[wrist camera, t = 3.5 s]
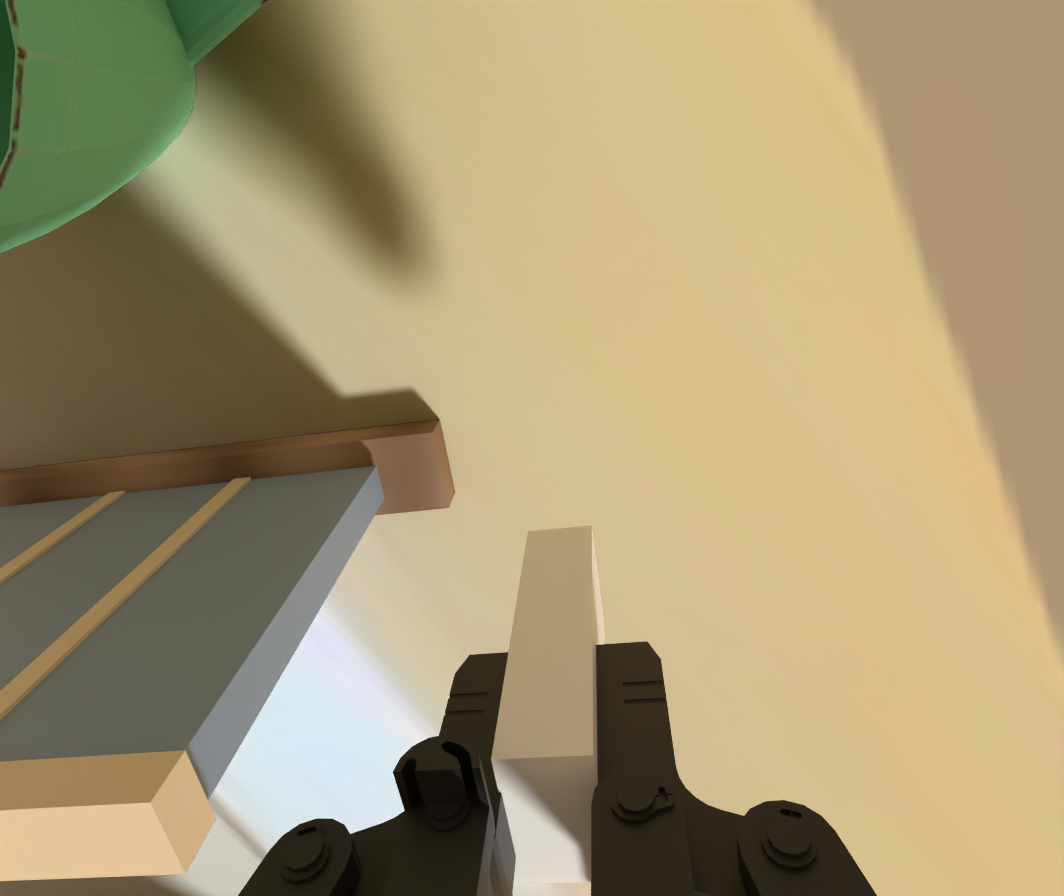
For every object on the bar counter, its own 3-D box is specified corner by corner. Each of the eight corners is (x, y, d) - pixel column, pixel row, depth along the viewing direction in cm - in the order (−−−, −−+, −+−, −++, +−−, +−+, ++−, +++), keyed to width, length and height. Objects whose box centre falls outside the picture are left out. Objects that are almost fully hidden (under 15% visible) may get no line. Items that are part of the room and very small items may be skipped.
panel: (8, 542, 25) (-535, 901, 13) (-12, 502, 24) (-601, 841, 12) (391, 502, 23) (185, 874, 11) (380, 459, 22) (149, 802, 10)
